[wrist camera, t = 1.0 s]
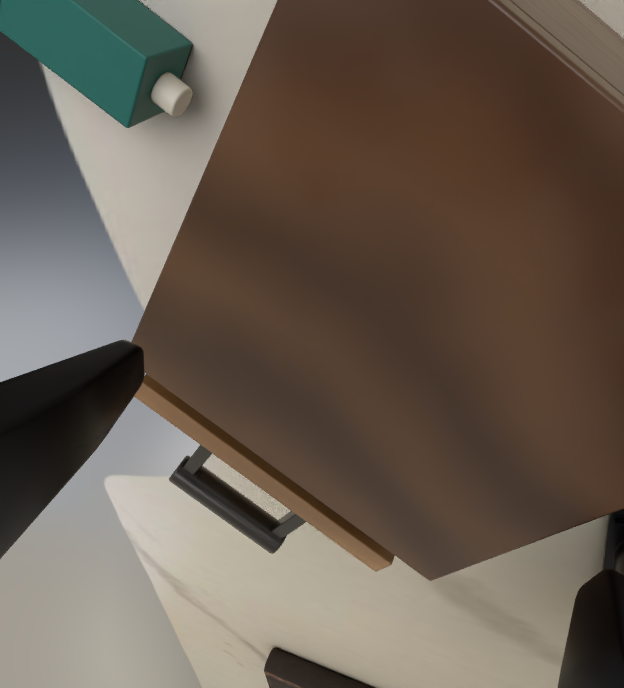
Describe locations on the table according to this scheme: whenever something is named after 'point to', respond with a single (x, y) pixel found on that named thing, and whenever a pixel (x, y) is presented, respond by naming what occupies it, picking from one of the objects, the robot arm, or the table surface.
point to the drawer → (261, 474)
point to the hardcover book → (302, 673)
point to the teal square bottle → (106, 52)
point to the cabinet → (415, 270)
